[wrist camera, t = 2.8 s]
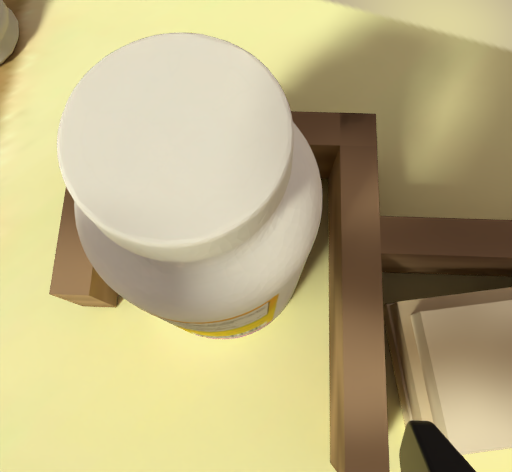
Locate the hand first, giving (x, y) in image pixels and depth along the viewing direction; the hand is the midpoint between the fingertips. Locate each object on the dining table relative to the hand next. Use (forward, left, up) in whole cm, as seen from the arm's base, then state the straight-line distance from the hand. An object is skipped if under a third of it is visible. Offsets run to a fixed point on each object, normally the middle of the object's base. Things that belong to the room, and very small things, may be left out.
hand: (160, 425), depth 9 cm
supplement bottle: (+4, -4, -12) cm, 13 cm away
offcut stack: (-7, -8, -12) cm, 16 cm away
